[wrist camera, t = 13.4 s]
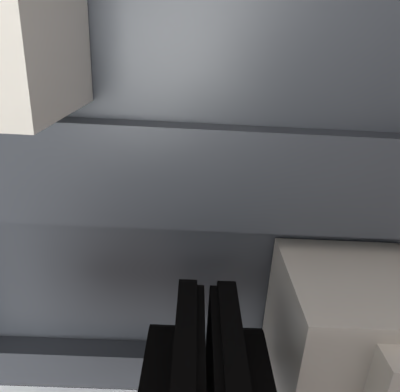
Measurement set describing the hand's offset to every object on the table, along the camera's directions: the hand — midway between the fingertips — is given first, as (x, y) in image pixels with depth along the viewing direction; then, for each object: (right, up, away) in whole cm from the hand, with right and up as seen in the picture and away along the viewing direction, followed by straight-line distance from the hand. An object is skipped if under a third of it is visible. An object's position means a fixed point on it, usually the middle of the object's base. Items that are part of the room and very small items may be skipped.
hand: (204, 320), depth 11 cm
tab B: (+4, 0, +2) cm, 4 cm away
